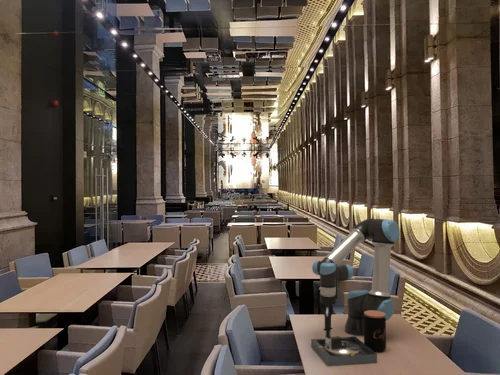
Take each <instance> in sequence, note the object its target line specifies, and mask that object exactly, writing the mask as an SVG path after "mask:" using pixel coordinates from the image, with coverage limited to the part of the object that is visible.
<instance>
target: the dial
mask: <svg viewBox="0 0 500 375" xmlns="http://www.w3.org/2000/svg"><path fill="white" fill-rule="evenodd" d="M340 337H341V336H339V335H337V336H331V337H327V338H326V344H325V350H326V351H327V352H328V353H330V354H333V355H345V354H349V353H353V354H359V353H360V347H359V346H358V345H357V344H355V343H352V342H347V341H341V338H340Z"/></svg>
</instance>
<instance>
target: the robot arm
mask: <svg viewBox="0 0 500 375" xmlns="http://www.w3.org/2000/svg"><path fill="white" fill-rule="evenodd" d="M400 235H401V231H400V227H399V225H398V223H397V222H396V221H395V220H393V219H388V218H387V219H386V218H385V219H384V218H367V219H364V220H362V221H360V222H359V223H357V224H356V225H354V227H352V228H351V229H350V230H349V234H348V235H346V236H345V238H344V239H343V240H341V241H340V242H339V244H337V245H336V246H335V247H334V248H333V249H332V250H331V251H329V253H328V254H327V255H326V256H325V257H324V258H323V259H322V260H315V261H314V262H313V264H312V272H313V274H315V275H317V276H319V284H320V287H319V288H318V290H320V292H319V294H320V295H319V298H320V299H319V302H320V304H322V305H324V306H323V316H324V328H323V331H324V338H325V343H326V338H327V337H332V330H333V327H332V316H333V313H332V312H333V311H332V310H333V305H335V304H336V302H337V298H336V294H337V291H336V290H337V288H336V287H337V286H336V284H337V283H336V282H341V281H348V280H351V279H352V278H353V277H354V269H353V266H351V264H347V263H346V264H341V263H342V262H343V260H345V258H346V257H348V256H349V254H350V253H352V251H353V250H355V248H357V246H358V245H359V244H362V243H364V242H365V241H366V240H372V241H371V243H372V245H373V246H374V251H373V264H372V279H371V280H372V282H371V289H370V290H366V289H358V290H356V289H355V290H350V291H348V294H347V319H346V322H345V325H344V332H346V333H347V334H350V335H353V336H360V337H364V316H365V315H364V312H365V311H369V310H375V311H381V312H384V313H385V314H386V316H385V318H386V321H389V320H390V319H391V317H392V316H393V315H394V313H395V310H396V305H395V302H394V301H393V299H391V298H392V297H391V294H390V293H389V282H390V268H391V267H390V266H391V255H392V253H391V251H392V248H393V247H394V246H395V243H396V242H397V241H398V240H399V239H400Z"/></svg>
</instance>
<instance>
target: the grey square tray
mask: <svg viewBox="0 0 500 375" xmlns="http://www.w3.org/2000/svg"><path fill="white" fill-rule="evenodd" d="M339 337H340V338H341V341H347V342H352V343H355V344H357V345H358V346H359V347H360V353H359V354H353V353H349V354H345V355H333V354H330V353H328V352H327V351H326V350H325V344H326V343H325V337H324V338H323V337H322V338H311V340H310V347H311V348H312V349H313V351H314V352H315V353H316V354H317V355H318V357H319V358H320V359H321V360H322V362H323V363H324V364H325V365H326V366H327V367H336V366H337V367H339V366H348V365H349V366H351V365H361V364H362V365H365V364H377V363H378V354H377V352H374V351H373V350H371V349H370V348H369V347H368V346H367V345H365V344H364V341H362V340H360V339H359V338H358V337H357V336H356V335H353V336H339Z"/></svg>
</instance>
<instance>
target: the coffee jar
mask: <svg viewBox="0 0 500 375" xmlns="http://www.w3.org/2000/svg"><path fill="white" fill-rule="evenodd" d="M364 315H365V316H364V336H363V343H364V344H365V345H367V346H368V347H369V348H370V349H371V350H373V351H374V352H375V353H384V352H385V351H386V349H387V330H386V328H387V326H386V325H387V320H386V318H385V316H386V314H385V313H384V312H381V311H375V310H369V311H365V312H364Z"/></svg>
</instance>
